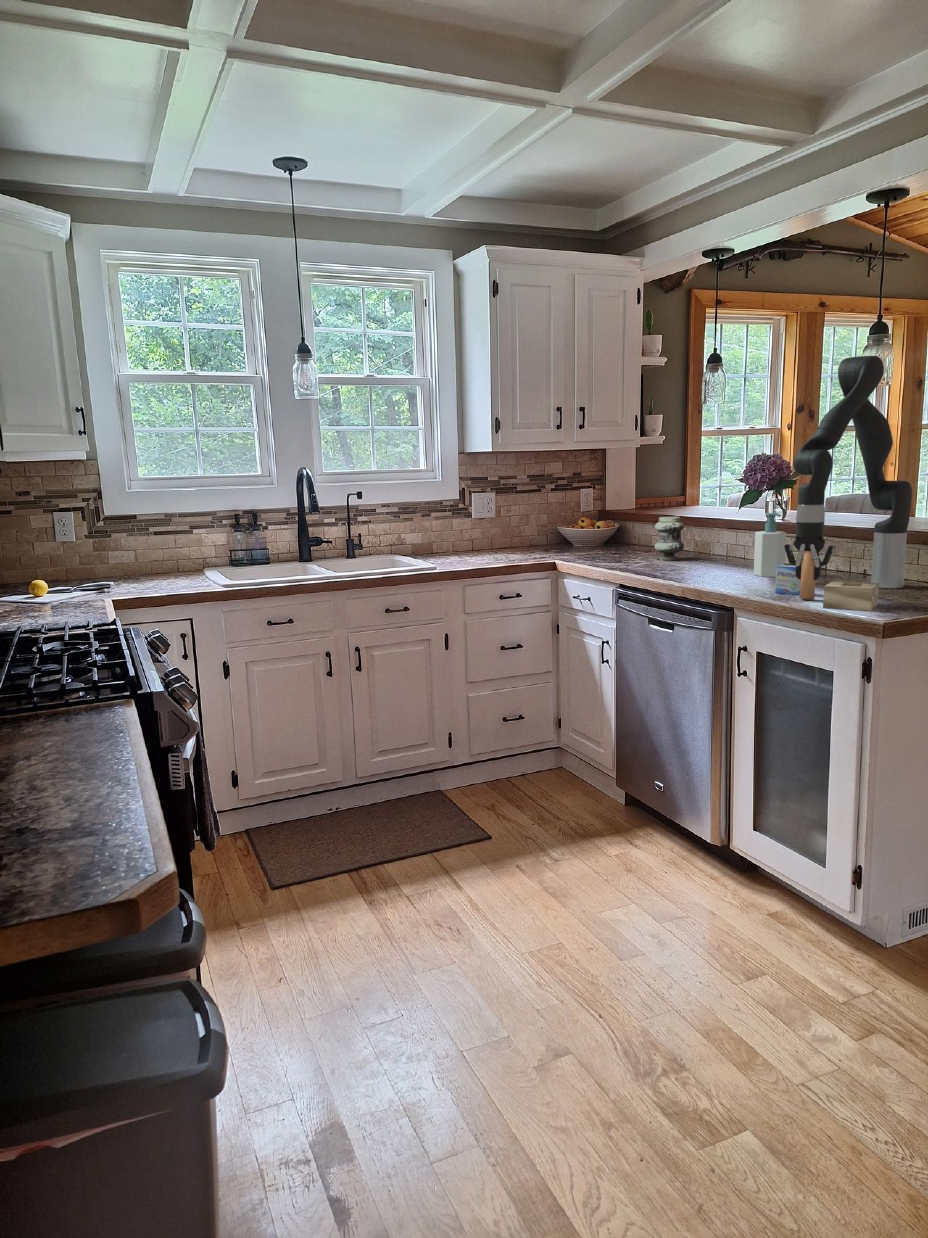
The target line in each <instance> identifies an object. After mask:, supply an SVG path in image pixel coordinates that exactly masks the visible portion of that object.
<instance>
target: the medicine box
mask: <svg viewBox="0 0 928 1238" xmlns="http://www.w3.org/2000/svg"><path fill="white" fill-rule="evenodd" d="M774 585H775V586H774V587H775V588H774V593H775V594H776V593H777V594H776V595H785V594H792V595H791V596H797V595H800V579H798V577H796V566H795V565H790V564H789V565H787V564H786V565H778V566H777V567H776V577H775V584H774Z"/></svg>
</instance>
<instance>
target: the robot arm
mask: <svg viewBox="0 0 928 1238" xmlns="http://www.w3.org/2000/svg"><path fill="white" fill-rule="evenodd" d="M884 373H885V365H884V361H883V360H882V359H881V357H879V356H877V355H863V356H862V355H861V356H852V357H851V356H850V357H846V358H844V359H843V360H841V361H840V363H839V364H838V368H837V378H838V384H839V386H840V389H841V392H842V395H843V398H842V399H841V400H840V401H839V402H837V403H836V404H835V405H834V406H833V407H832V408H831V409H829V410H828V412H826V414H825V415H824V416H823V417H822V419H821V420H820V423H819V424H818V426H817V428H816V430H815V431H814V434H813V435H812V436H811V437H810V438H809V439H808V440H806V442H805V443H804V444H803V445H802V446H801V447H800V448H799V450H798V451H797V452H796V454H795V456H794V459H793V464H792V465H793V469H794V471H795V472H796V473H797V474H798V475H802V476H811V478H810V479H809V481H808V482H806V483H803V484H801V485H800V486H799V488H798V495H797V509H796V515H795V538H794V540H793V542H791V543H786V545H785V546H784V548H785V555H786V557H787V561H788V564H789V565H792V566H796V577H798V579H800V578H801V560H802V556H803V552H804V551H812V556H813V560H814V562H815V566H816V567H815V569H814V580H815V581H818V580H819V579H821V573H822V567H823V566H826V565H828V564H829V562H830V559H831V557H832V555H833V552H834V550H835V547H836V546H835V545H834V544H829V543H826V541H825V539H824V538H825V517H826V516H825V515H826V514H825V513H826V512H825V511H826V510H825V497H826V494H825V493H826V492H825V491H826V487H827V485H828V482H829V478H830V475H831V473H832V469H833V466H834V465H833V464H834V462H833V456H832V454H831V453H830V452H829V451H830V450H833V449H835V448H836V446H837V445H838V444H839V442H840V440H841V439H842V436H843V435H844V433H845V431H846V429H847V427H848V426H849V424H850V423H851V421H852V423H853V426H854V430H855V431H854V432H855V435H856V439H857V443H858V447H859V449H860V451H859V452H860V453H861V457H862V461H863V465H864V469H865V474H866V475H865V476H866V481H867V486H868V487H867V488H868V494H869V499H870V502H871V505H872V507H873V508H874V509H875V510H879V511H891V515H890V516H889V517H888V518H886V519H885V520H882V521H877V522H876V523H875V524H874V528H873V529H874V531H873V547H872V563H871V579H870V580H871V582H870V583H879V588H880V589H901V588H904V581H905V580H904V579H905V568H906V550H907V538H908V537H907V535H908V528H909V524H910V516H911V508H912V501H913V488H912V485H911V483H910V482H909V481H907V480H887V479H886V478H885V473H884V466H885V463H886V461H887V458H888V457H889V455H890V453H891V450H892V447H893V445H894V444H893V443H894V441H893V435H892V431H891V428H890V427H891V426H890V424H889V421H888V420H887V418H886V417H885V415H884V414H883V413H882V412H881V411H880V410H879V409H878V408H877V407H876V406H875V405H874V404H873V403H872V402H871V400H870V399H869V397H870V396H871V395H872V394H873V392H874V391H875V390H876V388H877V387H878V386H879V384H880V383H881V381H882V379H883V376H884ZM794 547H795V548H796V550H797V551H798V554H797V557H796V559H795V556H794V552H793V550H795V549H794ZM822 549H824V552H826V553H825V554H824V557H823V559H822V561H821V555H820V552H821V551H822Z"/></svg>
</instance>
